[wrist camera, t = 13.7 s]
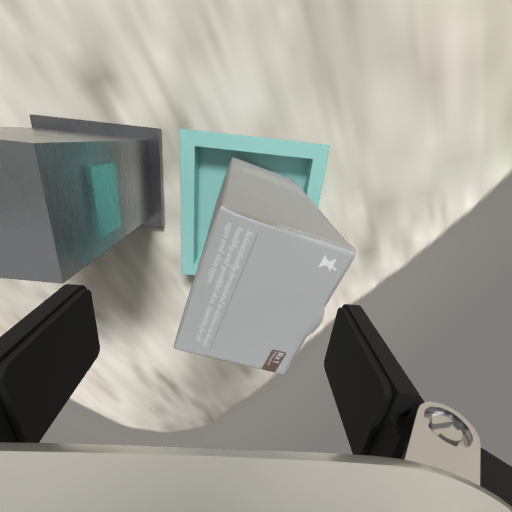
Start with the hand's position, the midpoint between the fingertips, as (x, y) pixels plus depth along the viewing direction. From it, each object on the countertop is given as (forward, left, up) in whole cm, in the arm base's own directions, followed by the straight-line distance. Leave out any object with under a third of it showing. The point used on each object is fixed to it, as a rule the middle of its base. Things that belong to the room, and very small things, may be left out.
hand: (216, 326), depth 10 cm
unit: (-13, +2, -18) cm, 23 cm away
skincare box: (+1, 0, -18) cm, 18 cm away
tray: (+1, 0, -18) cm, 18 cm away
